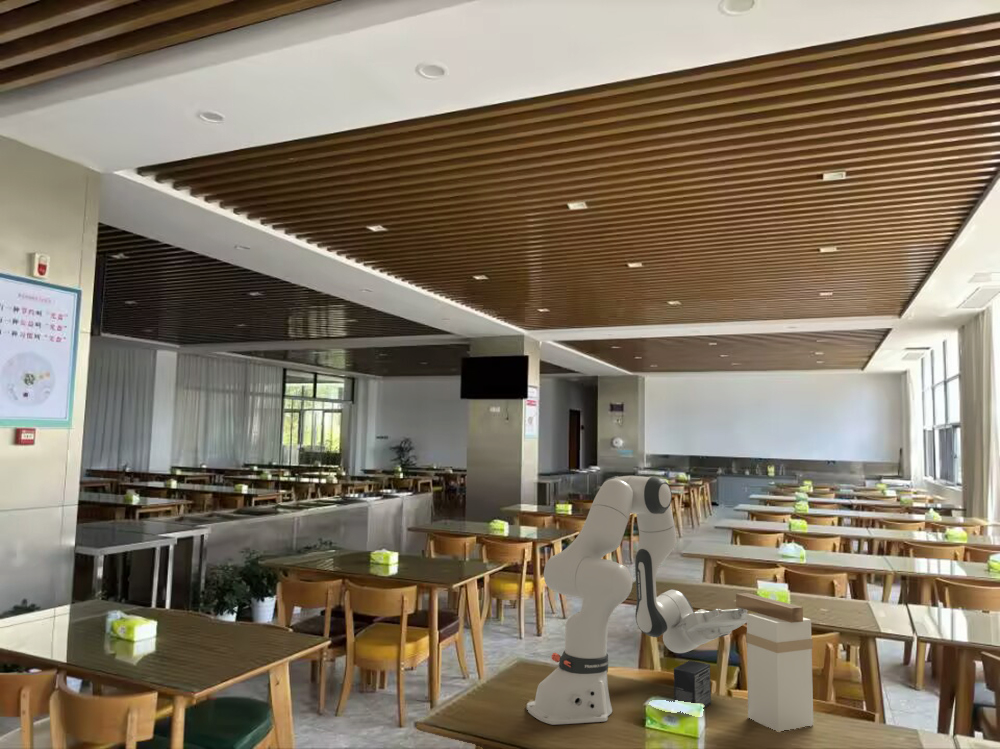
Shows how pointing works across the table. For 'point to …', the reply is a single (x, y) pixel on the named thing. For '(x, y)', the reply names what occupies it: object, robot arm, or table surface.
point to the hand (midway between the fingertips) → (732, 610)
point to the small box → (692, 683)
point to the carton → (779, 672)
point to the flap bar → (770, 607)
